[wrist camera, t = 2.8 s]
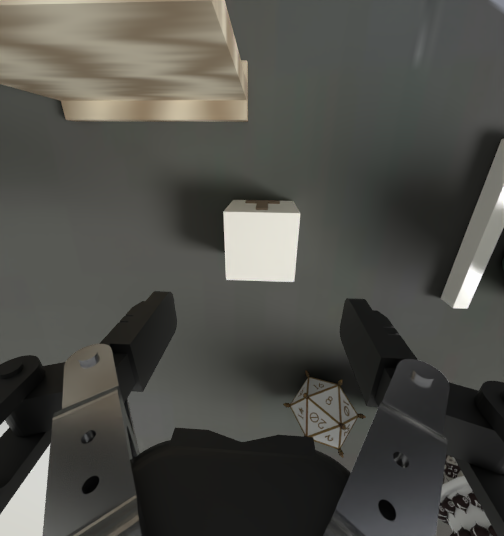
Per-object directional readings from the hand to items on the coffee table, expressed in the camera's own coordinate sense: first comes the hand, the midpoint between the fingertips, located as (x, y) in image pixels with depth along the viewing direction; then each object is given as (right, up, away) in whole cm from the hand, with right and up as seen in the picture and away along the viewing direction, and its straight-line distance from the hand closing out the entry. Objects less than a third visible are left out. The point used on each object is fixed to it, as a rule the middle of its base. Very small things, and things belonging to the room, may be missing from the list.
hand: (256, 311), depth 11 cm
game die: (+9, -14, +23) cm, 29 cm away
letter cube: (+1, +6, +14) cm, 16 cm away
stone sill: (+22, +6, +13) cm, 26 cm away
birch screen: (-9, +17, +10) cm, 21 cm away
